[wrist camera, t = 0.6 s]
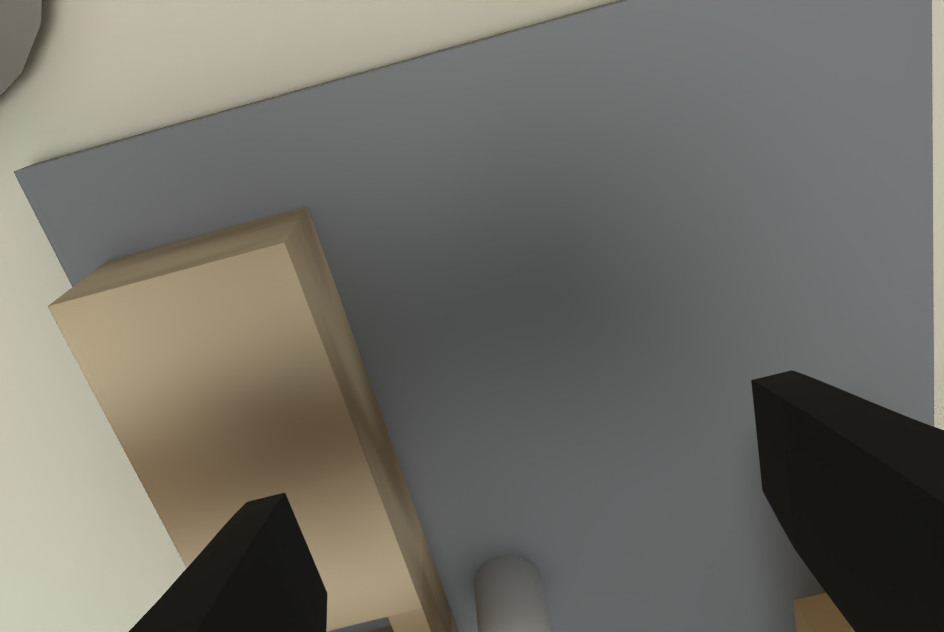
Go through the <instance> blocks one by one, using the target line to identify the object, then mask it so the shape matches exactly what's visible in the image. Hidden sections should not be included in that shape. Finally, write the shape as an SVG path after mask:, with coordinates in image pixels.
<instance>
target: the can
mask: <svg viewBox="0 0 944 632" xmlns="http://www.w3.org/2000/svg"><path fill="white" fill-rule="evenodd" d="M41 5H42V0H0V95H1V94H2V93H3V92H4V91H5V90H6V89H7V88H8V87H9V86H10V85H11V84H12V83H13V82H14V81H15V80H16V78H17V77H18V76H19V75H20V74H21V73H22V71H23V69H24V66H25V63H26V61H27V58H28V56H29V53H30V51H31V48H32V45H33V43H34V40H35V38H36V35H37V33H38V30H39V28H40V25H41Z"/></svg>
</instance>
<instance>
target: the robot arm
mask: <svg viewBox="0 0 944 632" xmlns="http://www.w3.org/2000/svg"><path fill="white" fill-rule="evenodd" d="M751 383H752V393H753V403H754V413H755V423H756V433H757V442H758V452H759V462H760V472H761V482H762V491H763V493H764V495H765V497H766V498H767V500H768V502H769V504H770V506H771V508H772V510H773V511H774V513H775V515H776V517H777V519H778V521H779V523H780V524H781V526H782V528H783V530H784V531H785V533H786V535H787V537H788V538H789V540H790V542H791V544H792V546H793V547H794V549H795V550H796V552H797V553H798V555H799V556H800V557H801V559H802V560H803V562H804V563H805V564H806V566H807V567H808V568H809V570H810V571H811V573H812V574H813V575H814V577H815V578H816V579H817V581H818V582H819V584H820V585H821V586H822V588H823V589H824V590H825V592H826V593H827V595H828V596H829V597H830V599H831V600H832V601H833V603H834V604H835V605H836V607H837V608H838V609H839V611H840V612H841V614H842V615H843V616H844V618H845V619H846V620H847V622H848V623H849V624H850V626H851V627H852V628H853V630H854V631H855V632H944V430H941V429H938V428H936V427H933V426H930V425H928V424H925V423H922V422H920V421H917V420H915V419H912V418H910V417H907V416H905V415H902V414H900V413H897V412H895V411H892V410H890V409H887V408H885V407H882V406H880V405H877V404H875V403H873V402H870V401H868V400H865V399H863V398H861V397H858V396H856V395H853V394H851V393H849V392H846V391H844V390H841V389H839V388H837V387H834V386H832V385H829V384H827V383H825V382H822V381H820V380H817V379H815V378H812V377H809V376H807V375H804V374H801V373H798V372H796V371H793V370H791V371H787V372H783V373H778V374H774V375H770V376H766V377H762V378H758V379H753V380H751ZM327 594H328V593H327V591H326V588H325V586H324V584H323V581H322V579H321V577H320V574H319V572H318V569H317V567H316V565H315V562H314V560H313V558H312V555H311V553H310V550H309V548H308V546H307V543H306V541H305V538H304V536H303V534H302V531H301V529H300V527H299V524H298V522H297V519H296V517H295V515H294V512H293V510H292V508H291V505H290V503H289V500H288V498H287V496H286V493H281V494H277V495H273V496H269V497H264V498H260V499H256V500H252V501H248V502H246V503H245V504H244V505H243V506H242V507H241V508H240V509H239V510H238V511H237V512H236V513H235V514H234V515H233V516H232V517H231V519H230V520H229V521H228V522H227V523H226V524H225V525H224V526H223V527H222V529H221V530H220V531H219V532H218V533H217V534H216V535H215V537H214V538H213V539H212V540H211V541H210V542H209V543H208V545H207V546H206V547H205V548H204V549H203V550H202V551H201V553H200V554H199V555H198V556H197V557H196V558H195V560H194V561H193V562H192V563H191V564H190V565H189V566H188V567H187V569H186V570H185V571H184V572H183V573H182V574H181V575H180V577H179V578H178V579H177V580H176V581H175V582H174V583H173V584H172V586H171V587H170V588H169V589H168V590H167V591H166V592H165V594H164V595H163V596H162V597H161V598H160V599H159V600H158V601H157V602H156V604H155V605H154V606H153V607H152V608H151V609H150V610H149V611H148V612H147V613H146V614H145V615H144V616H143V617H142V618H141V619H140V620H139V621H138V622H137V624H136V625H135V626H134V627H133V628H132V629H131V630H130V631H129V632H326V627H327Z"/></svg>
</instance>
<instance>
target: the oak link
mask: <svg viewBox="0 0 944 632" xmlns="http://www.w3.org/2000/svg"><path fill="white" fill-rule="evenodd" d="M48 308H49V310H50V312H51V314H52V315H53V317H54V319H55V321H56V323H57V325H58V327H59V329H60V330H61V332H62V334H63V336H64V338H65V340H66V342H67V344H68V346H69V347H70V349H71V351H72V353H73V355H74V357H75V359H76V361H77V362H78V364H79V366H80V368H81V370H82V372H83V374H84V376H85V377H86V379H87V381H88V383H89V385H90V387H91V389H92V391H93V393H94V394H95V396H96V398H97V400H98V402H99V404H100V406H101V408H102V409H103V411H104V413H105V415H106V417H107V419H108V421H109V423H110V425H111V426H112V428H113V430H114V432H115V434H116V436H117V438H118V440H119V441H120V443H121V445H122V447H123V449H124V451H125V453H126V455H127V457H128V458H129V460H130V462H131V464H132V466H133V468H134V470H135V472H136V473H137V475H138V477H139V479H140V481H141V483H142V485H143V487H144V488H145V490H146V492H147V494H148V496H149V498H150V500H151V502H152V504H153V505H154V507H155V509H156V511H157V513H158V515H159V517H160V519H161V520H162V522H163V524H164V526H165V528H166V530H167V532H168V534H169V536H170V537H171V539H172V541H173V543H174V545H175V547H176V549H177V551H178V552H179V554H180V556H181V558H182V560H183V562H184V564H185V566H186V567H188V566H189V565H190V564H191V563H192V562H193V561H194V560H195V558H196V557H197V556H198V555H199V554H200V553H201V551H202V550H203V549H204V548H205V547H206V546H207V545H208V543H209V542H210V541H211V540H212V539H213V538H214V537H215V535H216V534H217V533H218V532H219V531H220V530H221V529H222V527H223V526H224V525H225V524H226V523H227V522H228V521H229V520H230V519H231V517H232V516H233V515H234V514H235V513H236V512H237V511H238V510H239V509H240V508H241V507H242V506H243V505H244V504H245V503H246V502H248V501H252V500H256V499H260V498H264V497H269V496H273V495H277V494H281V493H286V496H287V498H288V500H289V503H290V505H291V508H292V510H293V512H294V515H295V517H296V519H297V522H298V524H299V527H300V529H301V531H302V534H303V536H304V538H305V541H306V543H307V546H308V548H309V550H310V553H311V555H312V558H313V560H314V562H315V565H316V567H317V569H318V572H319V574H320V577H321V579H322V581H323V584H324V586H325V588H326V591H327V593H328V594H327V627H326V632H327V631H331V630H335V629H339V628H343V627H347V626H351V625H355V624H359V623H363V622H367V621H371V620H376V619H380V618H384V617H388V618H389V621H390V623H391V626H387V627H383V628H379V629H375V630H371V631H367V632H459V631H458V628H457V625H456V622H455V619H454V617H453V614H452V611H451V608H450V605H449V603H448V600H447V597H446V594H445V591H444V589H443V586H442V583H441V580H440V577H439V574H438V572H437V569H436V566H435V563H434V560H433V558H432V555H431V552H430V549H429V546H428V544H427V541H426V538H425V535H424V532H423V530H422V527H421V524H420V521H419V518H418V515H417V513H416V510H415V507H414V504H413V501H412V499H411V496H410V493H409V490H408V487H407V485H406V482H405V479H404V476H403V473H402V471H401V468H400V465H399V462H398V459H397V457H396V454H395V451H394V448H393V445H392V442H391V440H390V437H389V434H388V431H387V428H386V426H385V423H384V420H383V417H382V414H381V412H380V409H379V406H378V403H377V400H376V398H375V395H374V392H373V389H372V386H371V384H370V381H369V378H368V375H367V372H366V369H365V367H364V364H363V361H362V358H361V355H360V353H359V350H358V347H357V344H356V341H355V339H354V336H353V333H352V330H351V327H350V325H349V322H348V319H347V316H346V313H345V311H344V308H343V305H342V302H341V299H340V296H339V294H338V291H337V288H336V285H335V282H334V280H333V277H332V274H331V271H330V268H329V266H328V263H327V260H326V257H325V254H324V252H323V249H322V246H321V243H320V240H319V238H318V235H317V232H316V229H315V226H314V223H313V221H312V218H311V215H310V212H309V209H308V207H307V206H306V207H302V208H299V209H295V210H291V211H288V212H284V213H280V214H276V215H273V216H269V217H265V218H262V219H258V220H254V221H251V222H247V223H243V224H240V225H236V226H232V227H229V228H225V229H221V230H218V231H214V232H210V233H206V234H203V235H199V236H195V237H192V238H188V239H184V240H181V241H177V242H173V243H170V244H166V245H162V246H159V247H155V248H151V249H148V250H144V251H140V252H136V253H133V254H129V255H125V256H122V257H118V258H114V259H111V260H108V261H106V262H105V263H104V264H102V265H101V266H100V267H99V268H97V269H96V270H95V271H93V272H92V273H91V274H89V275H88V276H87V277H85V278H84V279H83V280H82V281H80V282H79V283H78V284H76V285H75V286H74V287H72V288H71V289H70V290H68V291H67V292H66V293H65V294H63V295H62V296H61V297H59V298H58V299H57V300H55V301H54V302H53V303H52V304H50V305H49V306H48Z"/></svg>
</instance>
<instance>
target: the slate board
mask: <svg viewBox="0 0 944 632" xmlns="http://www.w3.org/2000/svg"><path fill="white" fill-rule="evenodd" d="M14 173H15V175H16V177H17V179H18V181H19V183H20V185H21V187H22V189H23V191H24V193H25V195H26V197H27V199H28V201H29V203H30V205H31V207H32V209H33V211H34V213H35V215H36V217H37V219H38V220H39V222H40V224H41V226H42V228H43V230H44V232H45V234H46V236H47V238H48V240H49V242H50V244H51V246H52V248H53V250H54V252H55V254H56V256H57V258H58V260H59V262H60V264H61V265H62V267H63V269H64V271H65V273H66V275H67V277H68V279H69V281H70V283H71V285H72V287H74V286H75V285H76V284H78V283H79V282H80V281H82V280H83V279H84V278H85V277H87V276H88V275H89V274H91V273H92V272H93V271H95V270H96V269H97V268H99V267H100V266H101V265H102V264H104V263H105V262H106V261H108V260H111V259H114V258H118V257H122V256H125V255H129V254H133V253H136V252H140V251H144V250H148V249H151V248H155V247H159V246H162V245H166V244H170V243H173V242H177V241H181V240H184V239H188V238H192V237H195V236H199V235H203V234H206V233H210V232H214V231H218V230H221V229H225V228H229V227H232V226H236V225H240V224H243V223H247V222H251V221H254V220H258V219H262V218H265V217H269V216H273V215H276V214H280V213H284V212H288V211H291V210H295V209H299V208H302V207H306V206H307V207H308V209H309V212H310V215H311V218H312V221H313V223H314V226H315V229H316V232H317V235H318V238H319V240H320V243H321V246H322V249H323V252H324V254H325V257H326V260H327V263H328V266H329V268H330V271H331V274H332V277H333V280H334V282H335V285H336V288H337V291H338V294H339V296H340V299H341V302H342V305H343V308H344V311H345V313H346V316H347V319H348V322H349V325H350V327H351V330H352V333H353V336H354V339H355V341H356V344H357V347H358V350H359V353H360V355H361V358H362V361H363V364H364V367H365V369H366V372H367V375H368V378H369V381H370V384H371V386H372V389H373V392H374V395H375V398H376V400H377V403H378V406H379V409H380V412H381V414H382V417H383V420H384V423H385V426H386V428H387V431H388V434H389V437H390V440H391V442H392V445H393V448H394V451H395V454H396V457H397V459H398V462H399V465H400V468H401V471H402V473H403V476H404V479H405V482H406V485H407V487H408V490H409V493H410V496H411V499H412V501H413V504H414V507H415V510H416V513H417V515H418V518H419V521H420V524H421V527H422V530H423V532H424V535H425V538H426V541H427V544H428V546H429V549H430V552H431V555H432V558H433V560H434V563H435V566H436V569H437V572H438V574H439V577H440V580H441V583H442V586H443V589H444V591H445V594H446V597H447V600H448V603H449V605H450V608H451V611H452V614H453V617H454V619H455V622H456V625H457V628H458V631H459V632H855V631H854V630H853V628H852V627H851V626H850V624H849V623H848V622H847V620H846V619H845V618H844V616H843V615H842V614H841V612H840V611H839V609H838V608H837V607H836V605H835V604H834V603H833V601H832V600H831V599H830V597H829V596H828V595H827V593H826V592H825V590H824V589H823V588H822V586H821V585H820V584H819V582H818V581H817V579H816V578H815V577H814V575H813V574H812V573H811V571H810V570H809V568H808V567H807V566H806V564H805V563H804V562H803V560H802V559H801V557H800V556H799V555H798V553H797V552H796V550H795V549H794V547H793V546H792V544H791V542H790V540H789V538H788V537H787V535H786V533H785V531H784V530H783V528H782V526H781V524H780V523H779V521H778V519H777V517H776V515H775V513H774V511H773V510H772V508H771V506H770V504H769V502H768V500H767V498H766V497H765V495H764V493H763V491H762V482H761V472H760V462H759V452H758V442H757V433H756V423H755V413H754V403H753V393H752V383H751V380H753V379H758V378H762V377H766V376H770V375H774V374H778V373H783V372H787V371H791V370H793V371H796V372H798V373H801V374H804V375H807V376H809V377H812V378H815V379H817V380H820V381H822V382H825V383H827V384H829V385H832V386H834V387H837V388H839V389H841V390H844V391H846V392H849V393H851V394H853V395H856V396H858V397H861V398H863V399H865V400H868V401H870V402H873V403H875V404H877V405H880V406H882V407H885V408H887V409H890V410H892V411H895V412H897V413H900V414H902V415H905V416H907V417H910V418H912V419H915V420H917V421H920V422H922V423H925V424H928V425H930V426H933V427H934V325H933V141H932V0H620V1H616V2H613V3H609V4H605V5H602V6H598V7H595V8H591V9H588V10H584V11H580V12H577V13H573V14H570V15H566V16H562V17H559V18H555V19H552V20H548V21H545V22H541V23H537V24H534V25H530V26H527V27H523V28H519V29H516V30H512V31H509V32H505V33H501V34H498V35H494V36H491V37H487V38H484V39H480V40H476V41H473V42H469V43H466V44H462V45H458V46H455V47H451V48H448V49H444V50H440V51H437V52H433V53H430V54H426V55H423V56H419V57H415V58H412V59H408V60H405V61H401V62H397V63H394V64H390V65H387V66H383V67H380V68H376V69H372V70H369V71H365V72H362V73H358V74H354V75H351V76H347V77H344V78H340V79H336V80H333V81H329V82H326V83H322V84H319V85H315V86H311V87H308V88H304V89H301V90H297V91H293V92H290V93H286V94H283V95H279V96H276V97H272V98H268V99H265V100H261V101H258V102H254V103H250V104H247V105H243V106H240V107H236V108H232V109H229V110H225V111H222V112H218V113H215V114H211V115H207V116H204V117H200V118H197V119H193V120H189V121H186V122H182V123H179V124H175V125H171V126H168V127H164V128H161V129H157V130H154V131H150V132H146V133H143V134H139V135H136V136H132V137H128V138H125V139H121V140H118V141H114V142H111V143H107V144H103V145H100V146H96V147H93V148H89V149H85V150H82V151H78V152H75V153H71V154H67V155H64V156H60V157H57V158H53V159H50V160H46V161H42V162H39V163H35V164H33V165H30V166H27V167H25V168H22V169H19V170H17V171H14ZM387 626H391V623H390V621H389V618H388V617H384V618H380V619H376V620H371V621H367V622H363V623H359V624H355V625H351V626H347V627H343V628H339V629H335V630H331V631H327V632H367V631H371V630H375V629H379V628H383V627H387Z"/></svg>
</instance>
